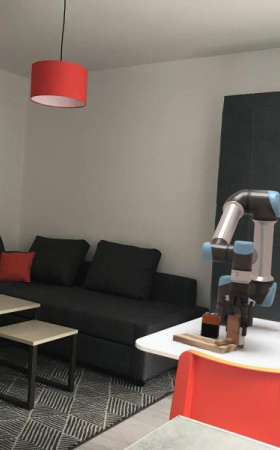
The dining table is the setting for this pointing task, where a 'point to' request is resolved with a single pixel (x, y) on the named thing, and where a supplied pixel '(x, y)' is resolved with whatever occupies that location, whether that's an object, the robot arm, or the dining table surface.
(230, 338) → the wooden mallet
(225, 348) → the board
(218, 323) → the battery
